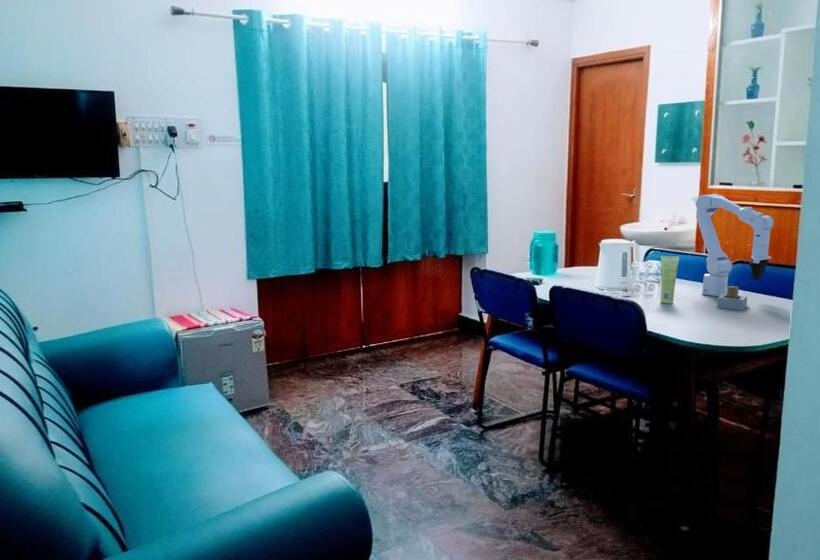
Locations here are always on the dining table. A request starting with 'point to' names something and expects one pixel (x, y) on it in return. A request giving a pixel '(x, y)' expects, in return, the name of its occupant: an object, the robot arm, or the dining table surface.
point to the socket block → (732, 302)
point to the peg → (732, 292)
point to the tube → (668, 277)
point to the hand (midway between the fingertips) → (757, 278)
